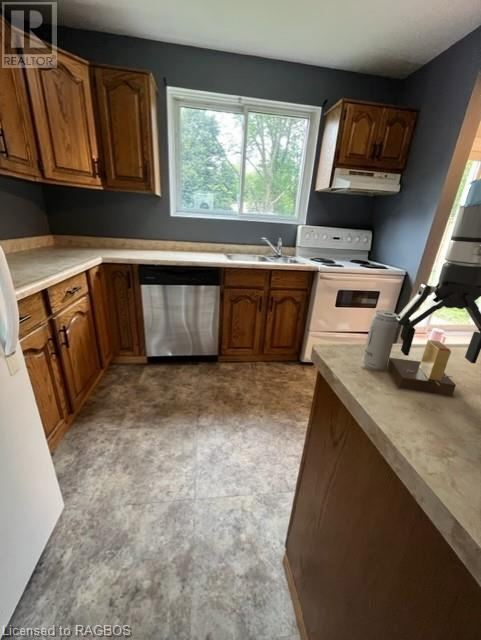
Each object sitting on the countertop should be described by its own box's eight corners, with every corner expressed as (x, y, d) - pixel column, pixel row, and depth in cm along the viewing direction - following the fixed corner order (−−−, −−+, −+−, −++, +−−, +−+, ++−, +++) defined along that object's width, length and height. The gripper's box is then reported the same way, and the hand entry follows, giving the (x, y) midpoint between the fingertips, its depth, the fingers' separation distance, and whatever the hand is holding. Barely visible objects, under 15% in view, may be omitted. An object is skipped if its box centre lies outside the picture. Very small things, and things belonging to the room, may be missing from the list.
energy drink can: (359, 359, 76) (370, 308, 70) (382, 362, 75) (395, 311, 69) (364, 370, 70) (376, 316, 65) (389, 373, 69) (404, 318, 64)
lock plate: (435, 374, 70) (439, 363, 69) (459, 400, 60) (464, 388, 59) (386, 367, 72) (389, 356, 71) (401, 392, 62) (404, 380, 61)
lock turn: (419, 367, 67) (428, 338, 64) (430, 369, 66) (439, 340, 64) (428, 379, 62) (438, 348, 59) (440, 381, 61) (451, 350, 58)
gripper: (406, 262, 54) (383, 357, 61) (555, 270, 49) (510, 372, 57) (394, 257, 61) (374, 343, 68) (523, 264, 56) (487, 355, 64)
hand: (436, 356), depth 62 cm, fingers open, 13 cm apart
